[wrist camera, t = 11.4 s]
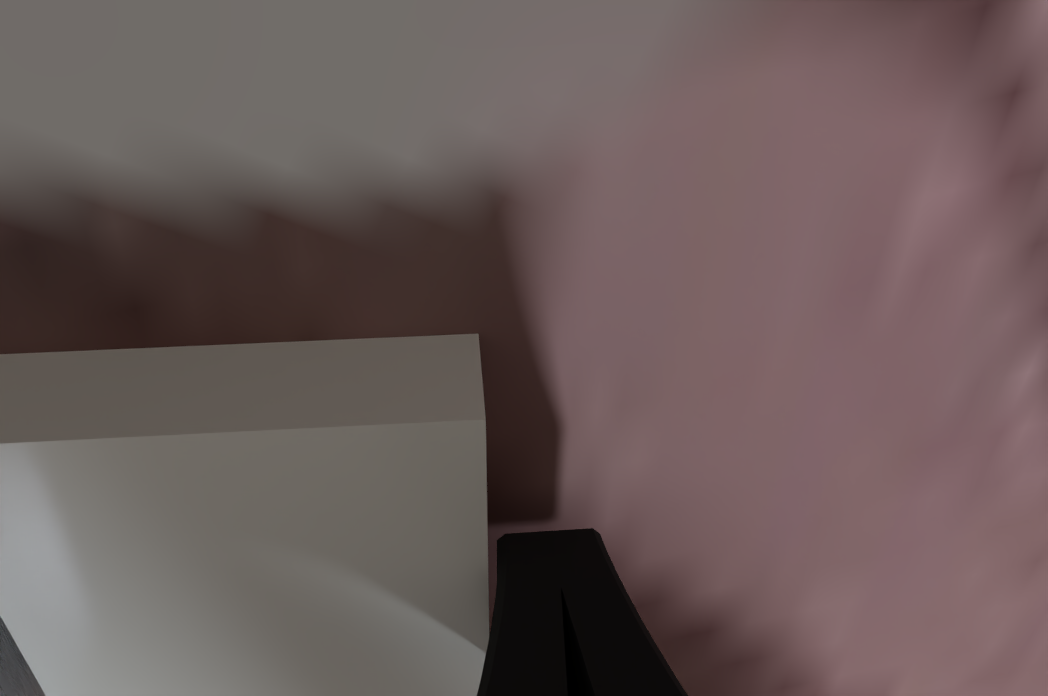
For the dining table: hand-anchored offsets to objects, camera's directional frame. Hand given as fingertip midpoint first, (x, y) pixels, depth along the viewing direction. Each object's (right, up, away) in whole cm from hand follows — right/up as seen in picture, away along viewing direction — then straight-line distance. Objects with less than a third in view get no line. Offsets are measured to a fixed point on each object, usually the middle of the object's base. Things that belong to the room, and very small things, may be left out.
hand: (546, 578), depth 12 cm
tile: (-4, +1, +1) cm, 4 cm away
